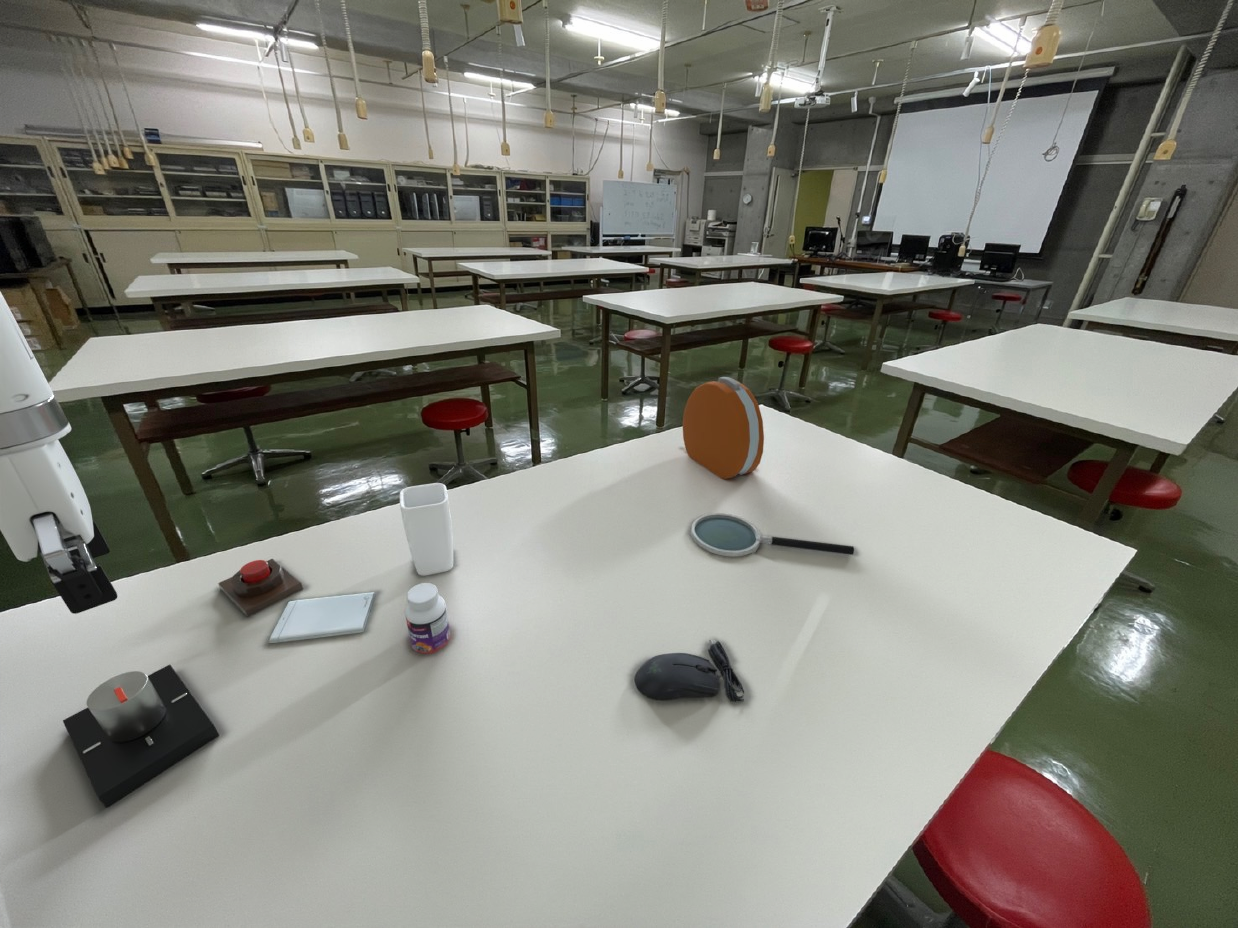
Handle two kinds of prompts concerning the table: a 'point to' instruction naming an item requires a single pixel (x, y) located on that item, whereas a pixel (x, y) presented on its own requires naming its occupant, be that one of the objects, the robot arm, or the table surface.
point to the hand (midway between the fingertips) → (93, 580)
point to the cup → (428, 527)
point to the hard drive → (323, 617)
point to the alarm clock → (724, 428)
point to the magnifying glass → (745, 537)
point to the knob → (126, 706)
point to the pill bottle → (426, 618)
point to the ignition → (260, 589)
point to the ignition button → (255, 571)
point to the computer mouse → (687, 675)
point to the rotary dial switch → (141, 741)
